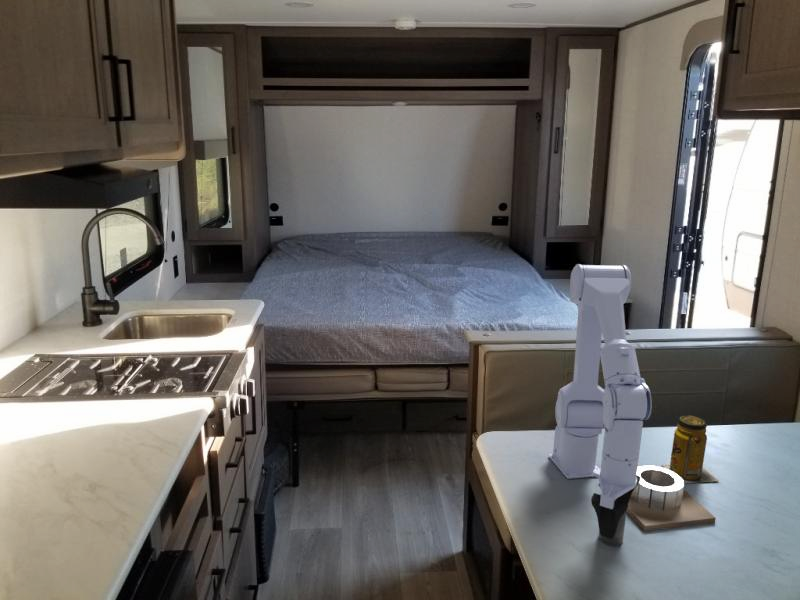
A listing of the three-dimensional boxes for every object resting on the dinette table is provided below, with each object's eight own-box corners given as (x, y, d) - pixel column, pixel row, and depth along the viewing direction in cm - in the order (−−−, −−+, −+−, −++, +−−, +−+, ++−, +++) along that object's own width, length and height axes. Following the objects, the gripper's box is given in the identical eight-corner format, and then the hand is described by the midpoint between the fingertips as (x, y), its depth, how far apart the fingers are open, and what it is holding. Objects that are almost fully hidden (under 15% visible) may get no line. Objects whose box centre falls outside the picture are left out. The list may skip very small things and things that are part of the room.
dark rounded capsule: (594, 533, 111) (597, 502, 109) (615, 530, 112) (618, 500, 110) (605, 547, 107) (609, 516, 106) (627, 544, 108) (631, 514, 106)
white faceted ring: (620, 486, 124) (623, 467, 123) (662, 482, 125) (665, 463, 124) (646, 513, 115) (649, 493, 114) (691, 508, 117) (694, 488, 116)
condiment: (661, 465, 134) (668, 413, 131) (699, 464, 135) (707, 412, 131) (679, 484, 127) (686, 429, 124) (719, 482, 128) (728, 428, 124)
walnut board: (599, 482, 127) (600, 478, 127) (663, 476, 129) (663, 471, 129) (644, 530, 112) (644, 525, 111) (714, 522, 114) (715, 517, 114)
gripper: (606, 429, 113) (599, 497, 117) (584, 464, 101) (577, 539, 105) (648, 440, 110) (639, 509, 113) (630, 477, 98) (621, 553, 101)
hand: (612, 524), depth 109 cm, fingers open, 7 cm apart
